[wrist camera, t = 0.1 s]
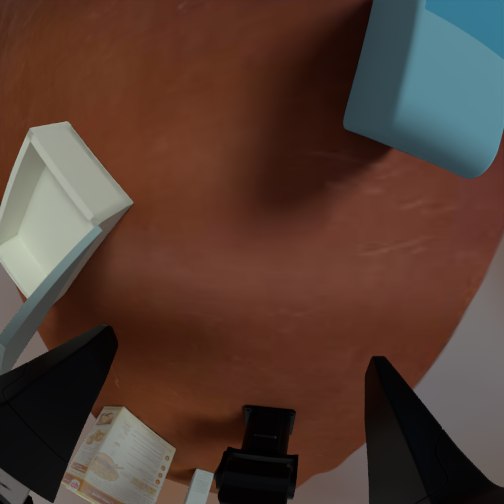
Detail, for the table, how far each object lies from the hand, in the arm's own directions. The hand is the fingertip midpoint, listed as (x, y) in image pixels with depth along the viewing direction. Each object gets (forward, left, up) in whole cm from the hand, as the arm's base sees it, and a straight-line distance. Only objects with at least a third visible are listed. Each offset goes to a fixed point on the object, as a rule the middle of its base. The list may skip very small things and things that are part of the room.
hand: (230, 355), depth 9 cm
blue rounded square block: (+12, -8, -15) cm, 21 cm away
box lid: (-6, +19, -3) cm, 20 cm away
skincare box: (-60, +14, -15) cm, 64 cm away
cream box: (-1, +23, -15) cm, 27 cm away
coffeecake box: (-42, +24, -15) cm, 51 cm away
